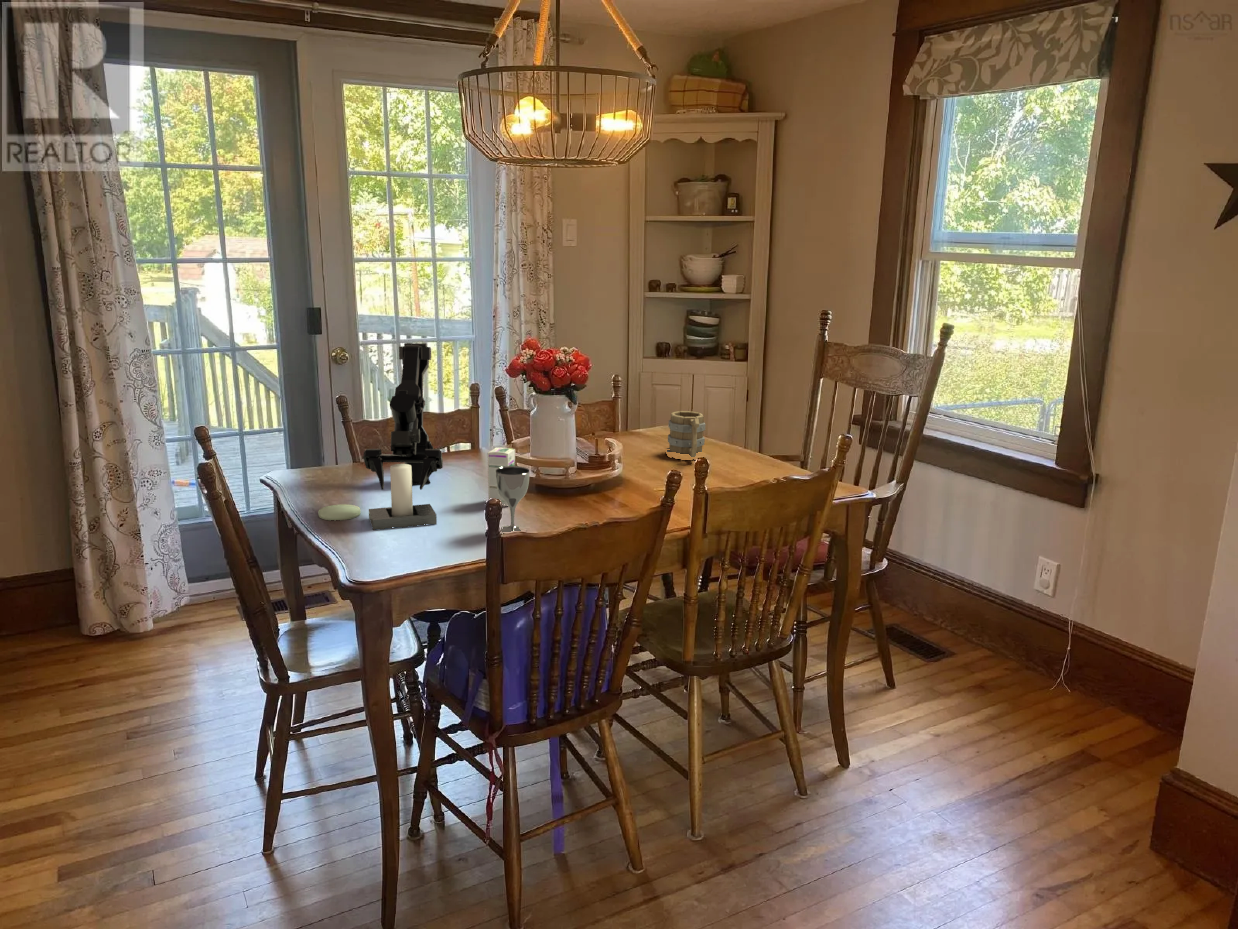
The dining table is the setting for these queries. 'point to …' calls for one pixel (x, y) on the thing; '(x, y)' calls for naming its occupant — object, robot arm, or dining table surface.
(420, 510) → the dark grey peg holder
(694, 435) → the tankard
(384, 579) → the dining table surface
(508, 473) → the wine glass
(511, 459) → the syrup box
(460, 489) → the dining table surface
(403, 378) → the robot arm
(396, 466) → the cream round peg
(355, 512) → the sage mat
